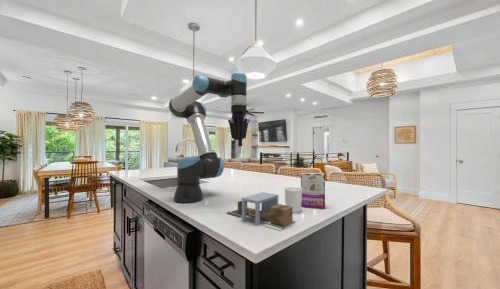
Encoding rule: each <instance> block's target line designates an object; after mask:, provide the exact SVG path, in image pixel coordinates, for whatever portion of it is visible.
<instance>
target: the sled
mask: <svg viewBox="0 0 500 289" xmlns="http://www.w3.org/2000/svg"><path fill="white" fill-rule="evenodd" d="M237 210H238V212H239V213H240V212H242V200H238V201H237ZM246 213H248V215H253V216H255V208H252V207H248V202H247V201H246ZM293 217H294V216H293V207H291V206H286V204H282V203H281V204H280V203H278V205H275V206H272V207H270V213H268V212H264V211H261V210H260V218H263V219H266V220H270V221H269V222H270V223H272V224H275V225H279V226H282V227H285V226H287V225H289V224H291V223H292V220H293Z"/></svg>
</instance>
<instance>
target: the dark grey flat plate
mask: <svg viewBox="0 0 500 289" xmlns="http://www.w3.org/2000/svg"><path fill="white" fill-rule="evenodd" d="M231 212H232V213H236V214H239V215H242V212H240V213H239V212H238V209H235V210H232V211H231ZM226 214H227V215H230V216H233V217H237V218H239V219H240V218H241V217H240V216H236V215H233V214H230V213H227V212H226ZM248 215H249V214H248V213H246V216H248Z"/></svg>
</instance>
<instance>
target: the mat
mask: <svg viewBox="0 0 500 289" xmlns="http://www.w3.org/2000/svg"><path fill="white" fill-rule="evenodd" d="M292 221H294V223H293V222H292V223H291V224H289V225H287V226H285V227H283V230H284V229H286V228H288V227H290V226H291V225H293V224H295V223H297V220H293V219H292ZM267 223H270V221H267ZM270 224H272V223H270ZM274 225H275V224H274ZM277 226H279V225H277ZM262 227H265V228H269V229H271V230H275V231H279V232H280V231H283V230H282V229H281V228H278V227H274V226H271V225H267V224H262ZM280 227H282V226H280Z"/></svg>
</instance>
